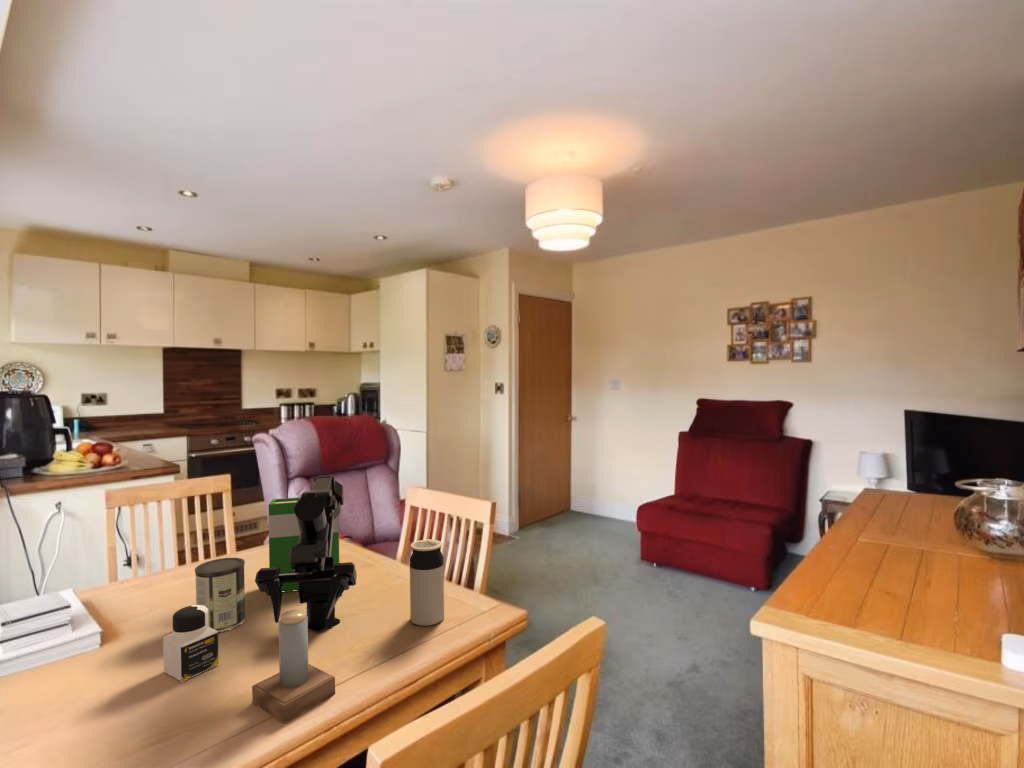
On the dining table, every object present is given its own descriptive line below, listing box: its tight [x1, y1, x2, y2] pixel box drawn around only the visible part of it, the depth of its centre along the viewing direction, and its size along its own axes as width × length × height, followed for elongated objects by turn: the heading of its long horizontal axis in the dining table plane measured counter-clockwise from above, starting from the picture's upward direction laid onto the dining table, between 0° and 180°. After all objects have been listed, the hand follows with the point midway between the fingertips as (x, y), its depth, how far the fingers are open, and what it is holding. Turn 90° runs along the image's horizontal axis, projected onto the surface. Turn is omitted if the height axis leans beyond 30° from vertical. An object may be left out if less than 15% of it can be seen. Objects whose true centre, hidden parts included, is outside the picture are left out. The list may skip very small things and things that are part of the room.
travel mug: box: [409, 538, 445, 627], centre depth 125 cm, size 8×8×18 cm
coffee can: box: [194, 557, 247, 633], centre depth 123 cm, size 10×10×14 cm
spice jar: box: [278, 608, 309, 688], centre depth 94 cm, size 5×5×12 cm
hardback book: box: [268, 496, 340, 592], centre depth 146 cm, size 18×7×24 cm, turn 107°
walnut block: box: [251, 663, 336, 724], centre depth 94 cm, size 10×10×3 cm
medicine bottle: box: [162, 604, 220, 682], centre depth 104 cm, size 7×7×12 cm
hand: (301, 620), depth 101 cm, fingers open, 9 cm apart
